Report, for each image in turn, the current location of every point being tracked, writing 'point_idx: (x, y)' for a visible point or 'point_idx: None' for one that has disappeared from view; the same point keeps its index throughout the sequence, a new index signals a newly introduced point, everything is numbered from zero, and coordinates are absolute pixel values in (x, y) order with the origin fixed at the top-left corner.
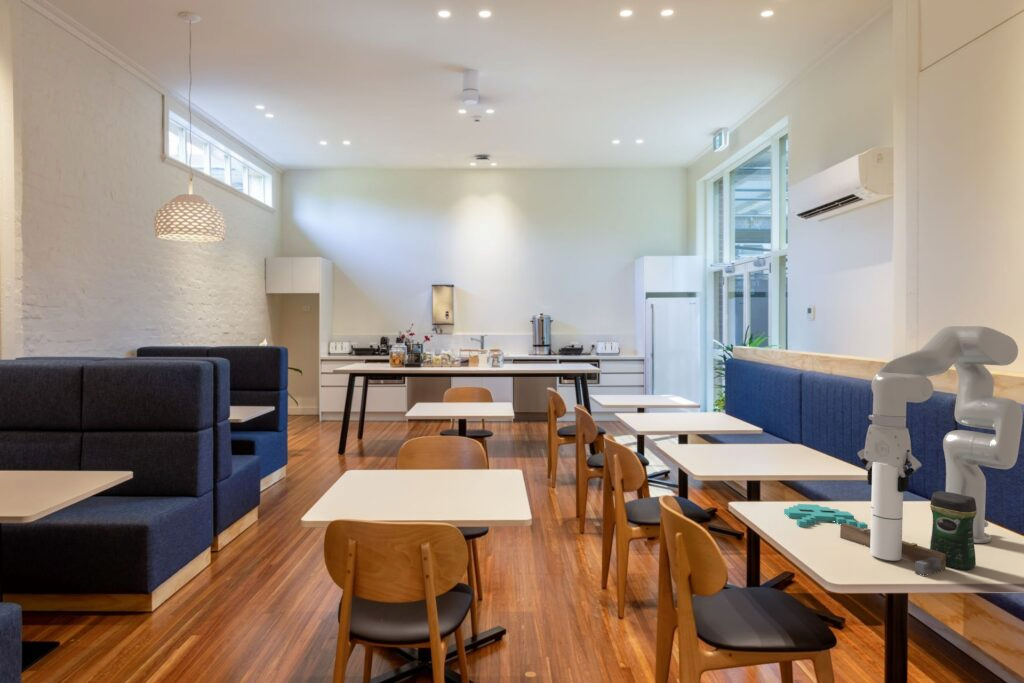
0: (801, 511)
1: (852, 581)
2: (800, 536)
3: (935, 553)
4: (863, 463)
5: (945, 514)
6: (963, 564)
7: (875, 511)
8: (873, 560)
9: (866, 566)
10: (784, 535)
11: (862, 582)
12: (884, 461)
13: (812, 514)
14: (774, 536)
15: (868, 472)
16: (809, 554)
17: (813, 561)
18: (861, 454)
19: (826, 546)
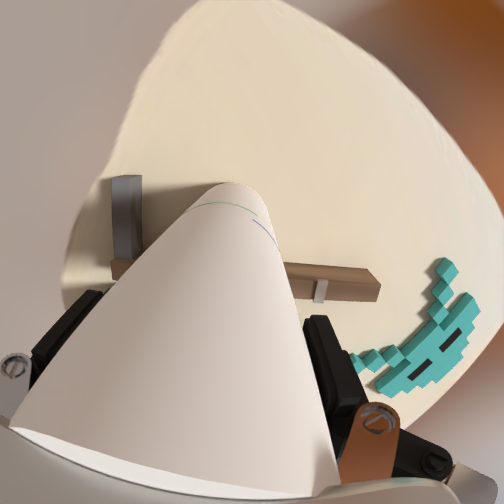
0: (457, 326)
1: (200, 6)
2: (425, 192)
3: (123, 263)
4: (425, 442)
5: None
6: (105, 292)
7: (240, 211)
8: (240, 172)
9: (228, 111)
10: (446, 167)
11: (185, 18)
12: (70, 501)
13: (440, 330)
14: (452, 141)
15: (352, 379)
16: (353, 75)
17: (320, 38)
18: (468, 500)
19: (362, 171)
